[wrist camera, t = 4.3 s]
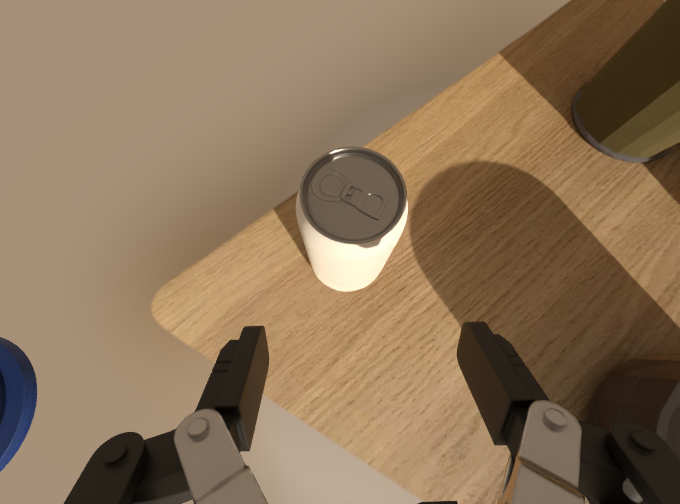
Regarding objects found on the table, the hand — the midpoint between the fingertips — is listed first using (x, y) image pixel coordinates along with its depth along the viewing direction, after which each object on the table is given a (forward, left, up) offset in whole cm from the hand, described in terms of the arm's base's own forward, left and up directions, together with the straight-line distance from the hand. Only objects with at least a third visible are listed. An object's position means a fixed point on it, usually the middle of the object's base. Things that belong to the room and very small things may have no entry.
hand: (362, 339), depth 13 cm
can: (+7, +1, -14) cm, 16 cm away
